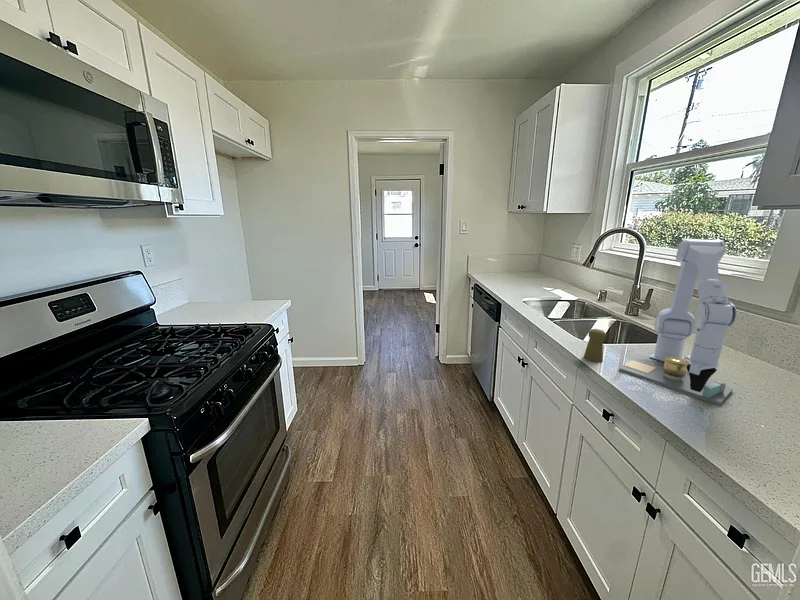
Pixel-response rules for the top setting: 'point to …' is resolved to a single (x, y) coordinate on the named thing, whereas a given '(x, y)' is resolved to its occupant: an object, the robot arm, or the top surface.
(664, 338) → the robot arm
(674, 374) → the cap
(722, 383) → the lock lever
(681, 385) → the post board
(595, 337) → the pepper shaker
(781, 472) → the top surface
